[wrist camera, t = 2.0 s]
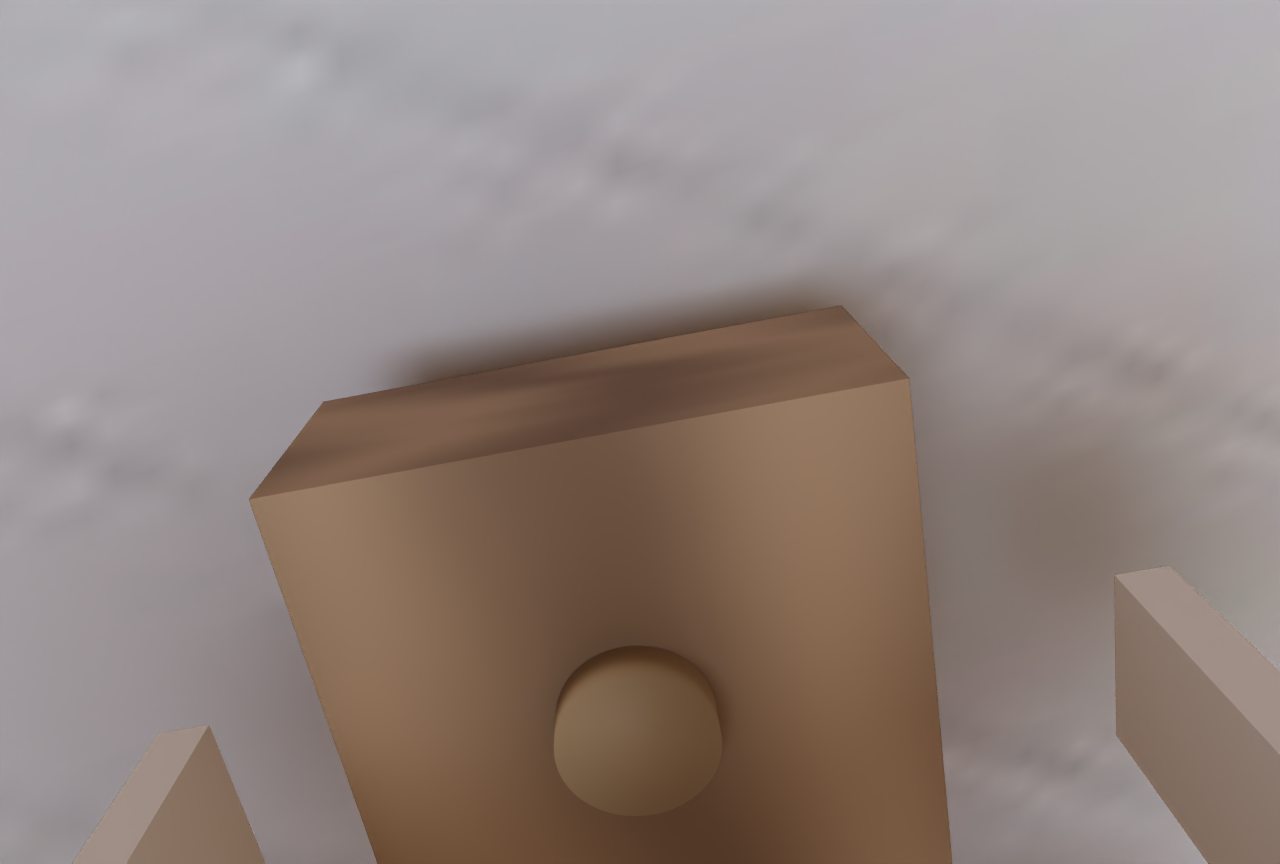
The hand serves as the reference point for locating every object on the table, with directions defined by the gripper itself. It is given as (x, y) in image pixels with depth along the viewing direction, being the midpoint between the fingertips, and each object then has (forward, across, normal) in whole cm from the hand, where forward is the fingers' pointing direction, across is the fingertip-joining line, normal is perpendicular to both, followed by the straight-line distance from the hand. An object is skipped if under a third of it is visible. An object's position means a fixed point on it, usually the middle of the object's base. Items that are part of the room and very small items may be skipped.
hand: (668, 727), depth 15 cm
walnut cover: (+4, 0, 0) cm, 5 cm away
